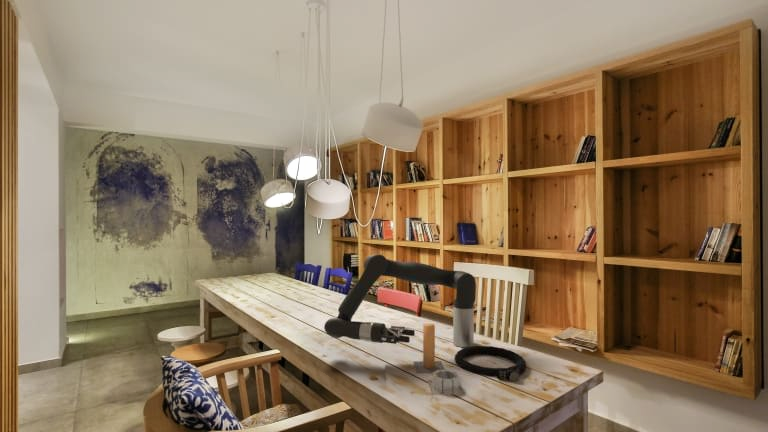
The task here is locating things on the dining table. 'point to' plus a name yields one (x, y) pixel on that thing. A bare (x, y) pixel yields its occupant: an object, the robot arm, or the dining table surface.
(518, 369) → the cable lock
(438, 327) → the dining table surface
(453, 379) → the collar stand
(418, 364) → the mat
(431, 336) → the tube
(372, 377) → the dining table surface
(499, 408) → the dining table surface
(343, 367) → the dining table surface
